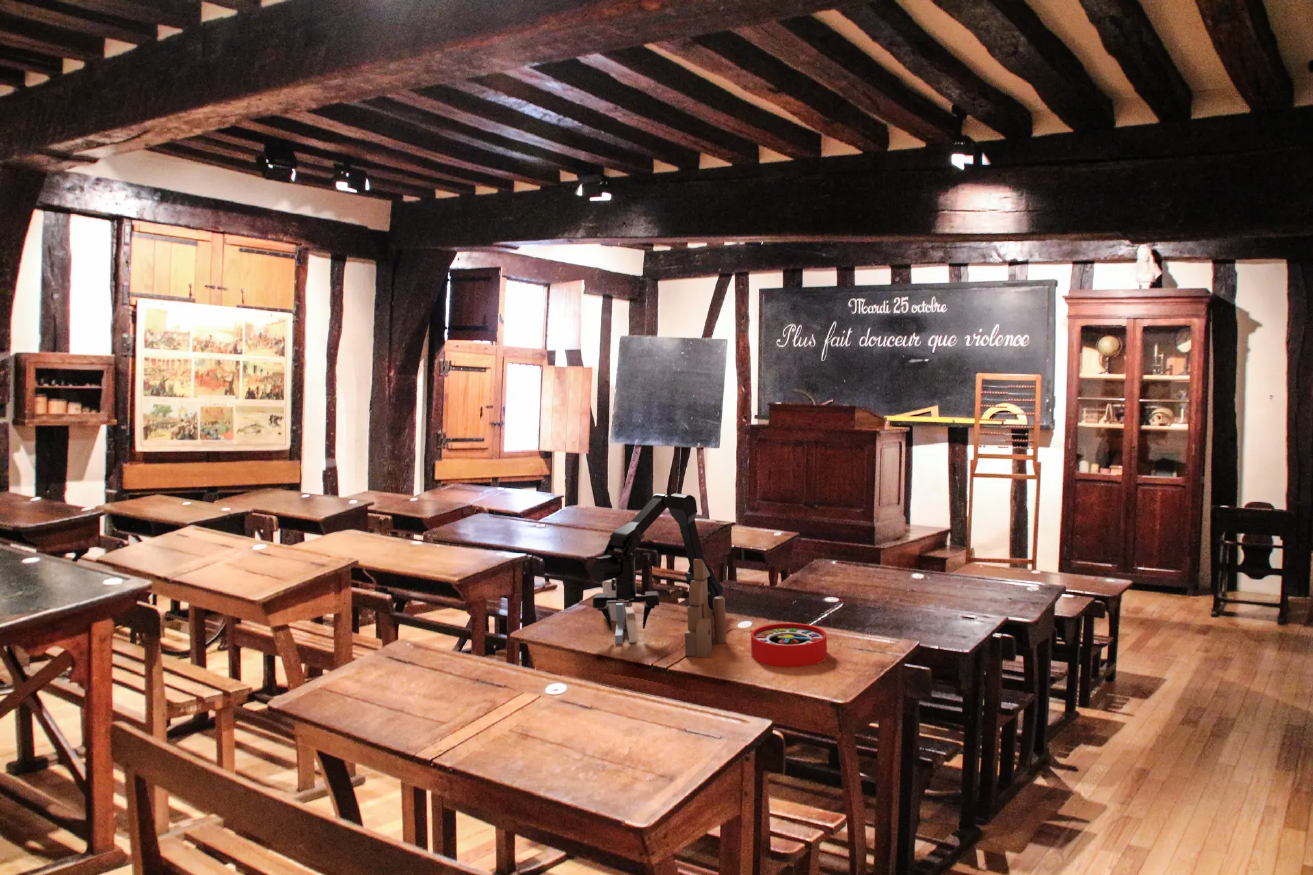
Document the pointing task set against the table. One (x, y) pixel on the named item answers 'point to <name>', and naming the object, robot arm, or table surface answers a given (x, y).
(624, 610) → the grey metallic round-topped post
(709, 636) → the wooden toy
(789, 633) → the toy clock
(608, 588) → the off-white flat-topped cylinder
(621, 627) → the strip
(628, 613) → the beige flat block
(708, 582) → the robot arm
